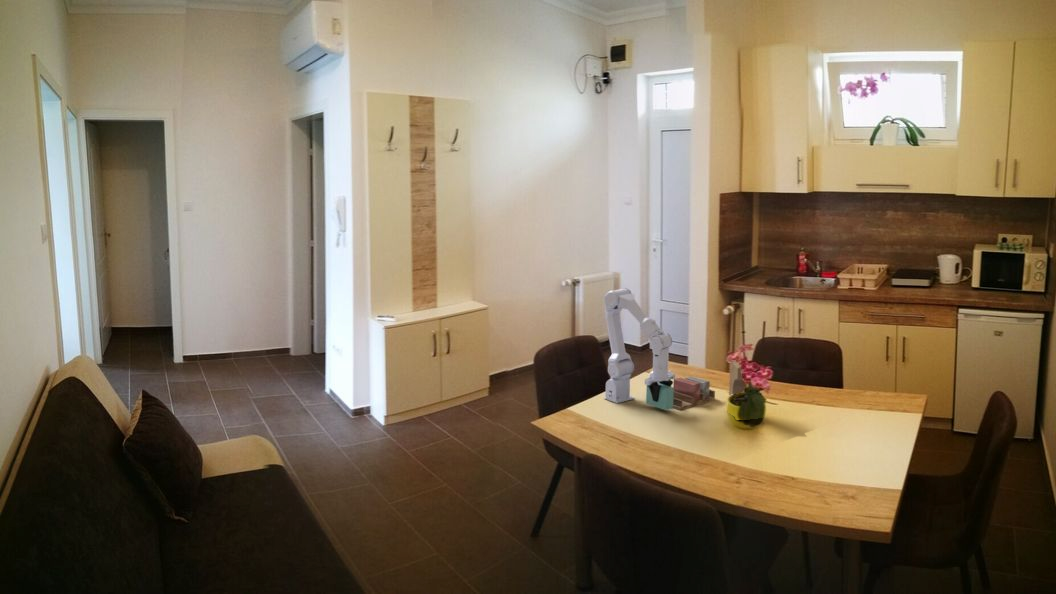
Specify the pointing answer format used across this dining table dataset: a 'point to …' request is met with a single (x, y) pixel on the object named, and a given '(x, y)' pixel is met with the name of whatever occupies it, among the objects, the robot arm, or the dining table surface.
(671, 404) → the teal book
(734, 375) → the decorative block
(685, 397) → the book rack
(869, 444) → the dining table surface
